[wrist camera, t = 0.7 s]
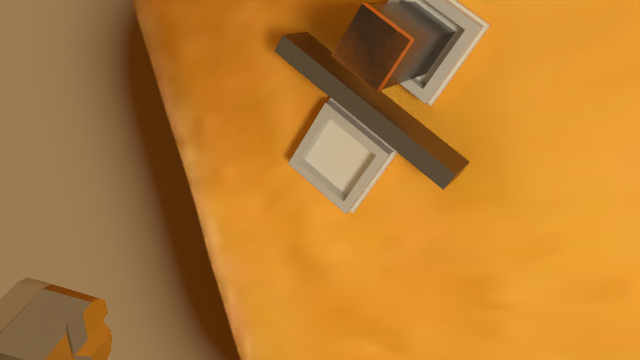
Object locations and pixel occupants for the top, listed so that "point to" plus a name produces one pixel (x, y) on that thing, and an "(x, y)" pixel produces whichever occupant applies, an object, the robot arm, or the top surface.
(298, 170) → the socket
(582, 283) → the top surface
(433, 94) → the grey square frame
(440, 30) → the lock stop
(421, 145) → the door edge rail
